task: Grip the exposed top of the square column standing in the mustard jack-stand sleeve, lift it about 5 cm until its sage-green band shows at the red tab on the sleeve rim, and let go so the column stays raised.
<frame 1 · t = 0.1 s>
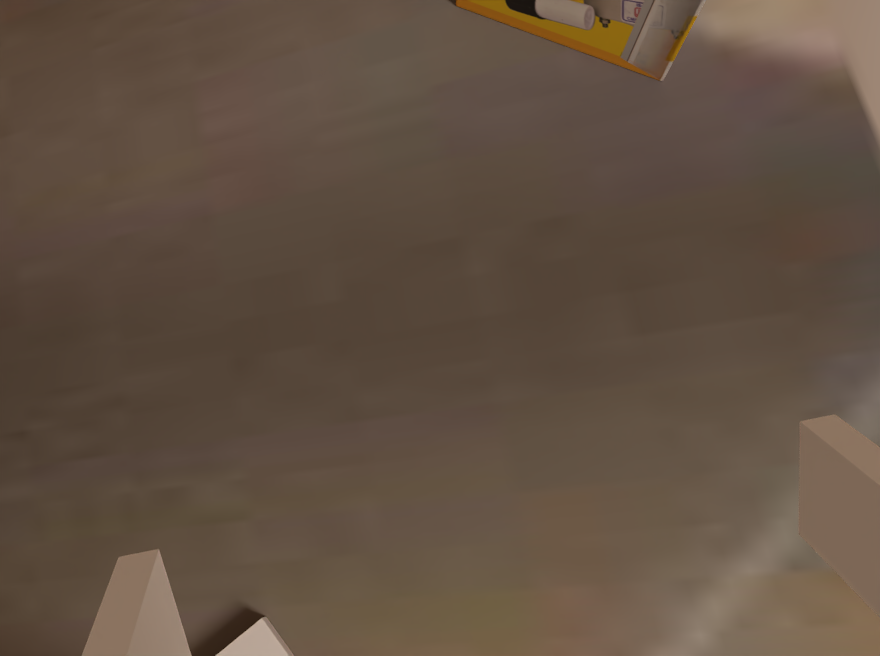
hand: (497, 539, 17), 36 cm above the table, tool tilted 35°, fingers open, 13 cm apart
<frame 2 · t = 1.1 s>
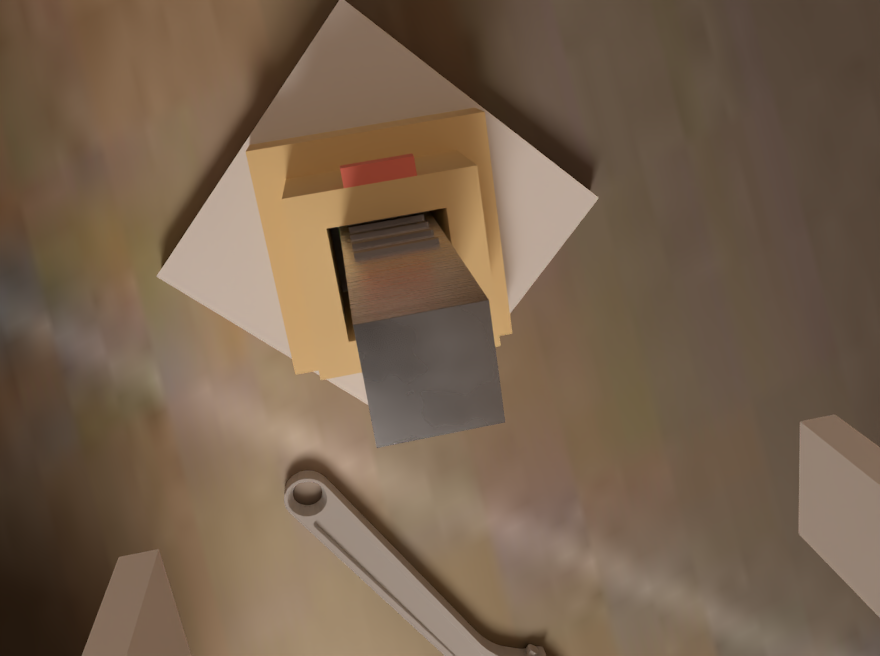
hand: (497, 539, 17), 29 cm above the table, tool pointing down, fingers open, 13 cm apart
adjustable wrench: (439, 598, 52), on the table
column: (401, 289, 33), point 11 cm above the table, slide at 0.0 cm
stand: (380, 229, 44), on the table
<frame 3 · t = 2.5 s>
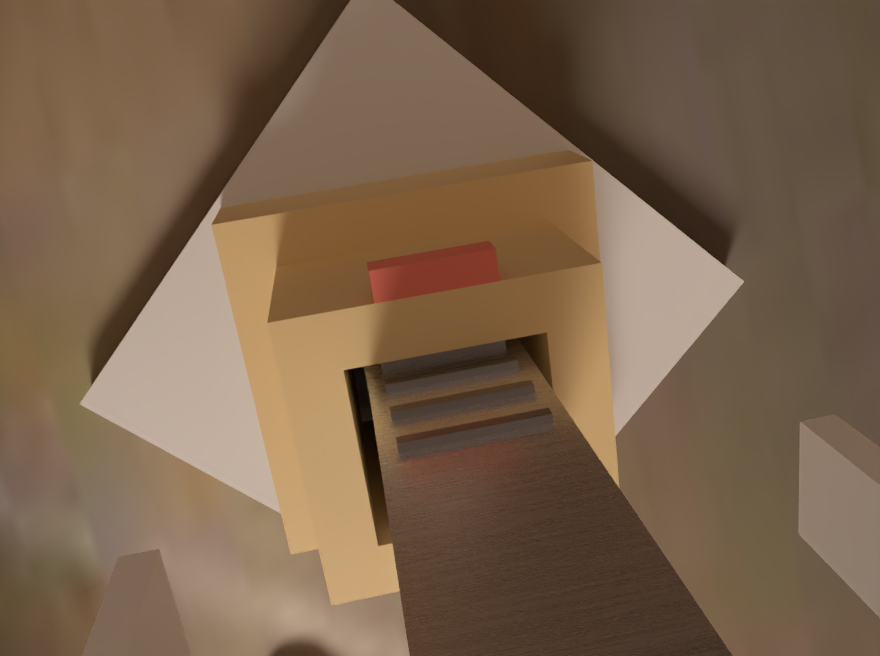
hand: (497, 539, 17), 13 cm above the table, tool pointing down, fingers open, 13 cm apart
column: (476, 486, 19), point 11 cm above the table, slide at 0.0 cm
stand: (418, 326, 29), on the table
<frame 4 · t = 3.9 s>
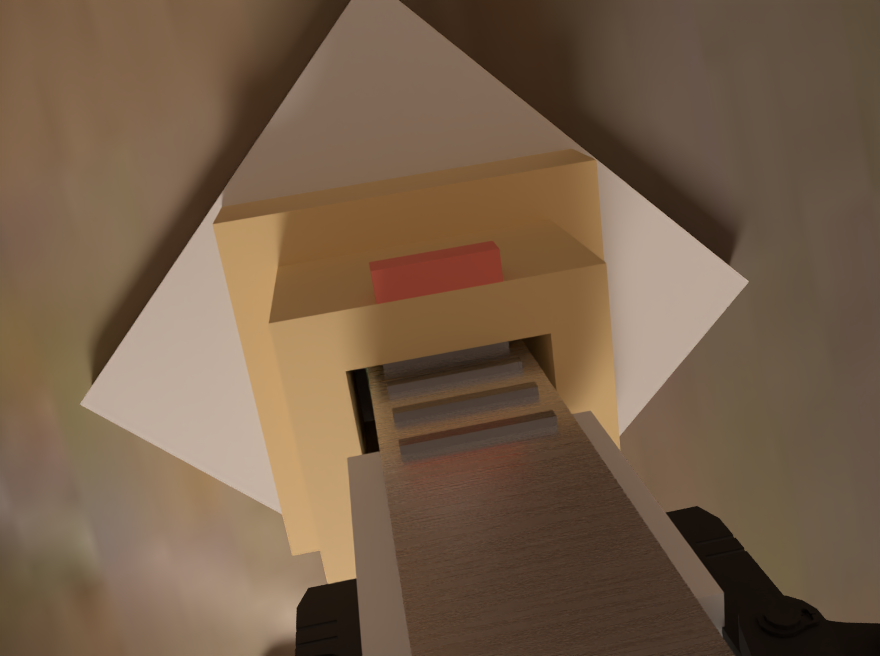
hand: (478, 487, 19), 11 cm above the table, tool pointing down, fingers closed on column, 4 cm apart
column: (479, 488, 19), point 11 cm above the table, slide at 0.0 cm, touching gripper
stand: (420, 326, 29), on the table
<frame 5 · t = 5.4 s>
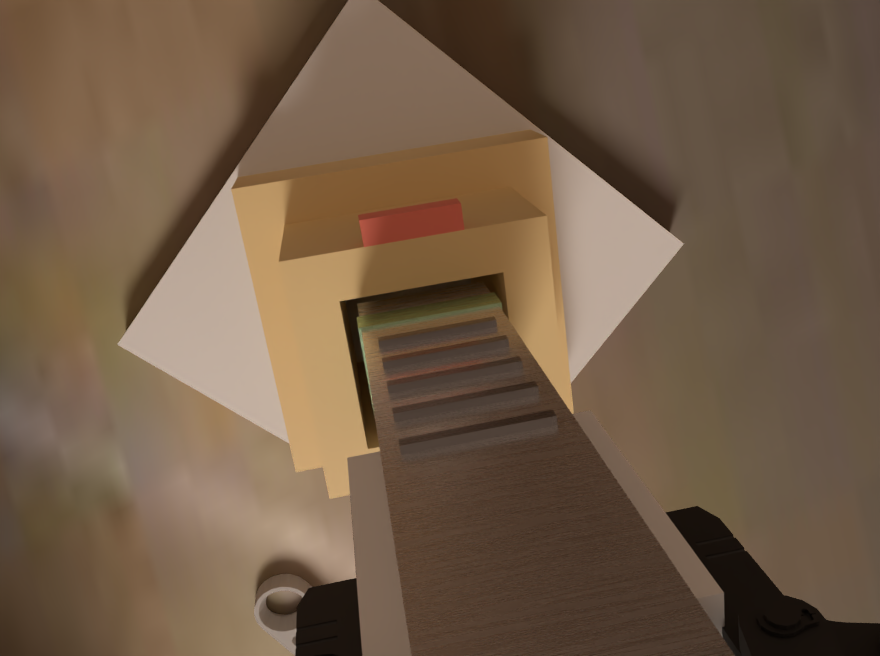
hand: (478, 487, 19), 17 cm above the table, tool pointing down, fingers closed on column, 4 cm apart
column: (479, 488, 19), point 17 cm above the table, slide at 5.5 cm, touching gripper
stand: (404, 282, 34), on the table
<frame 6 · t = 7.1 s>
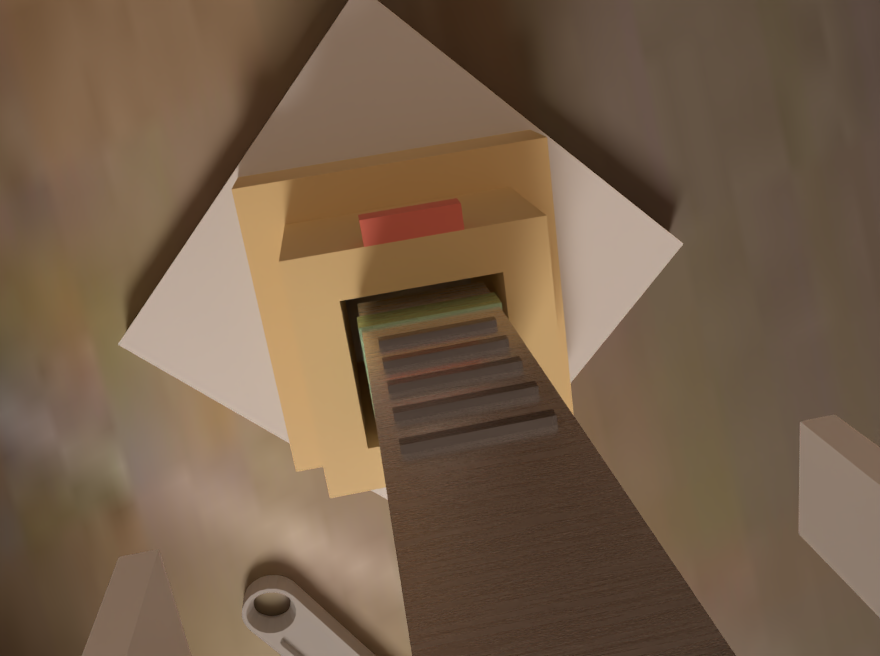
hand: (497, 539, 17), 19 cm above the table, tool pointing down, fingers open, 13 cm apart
column: (479, 487, 19), point 17 cm above the table, slide at 5.5 cm
stand: (404, 282, 34), on the table
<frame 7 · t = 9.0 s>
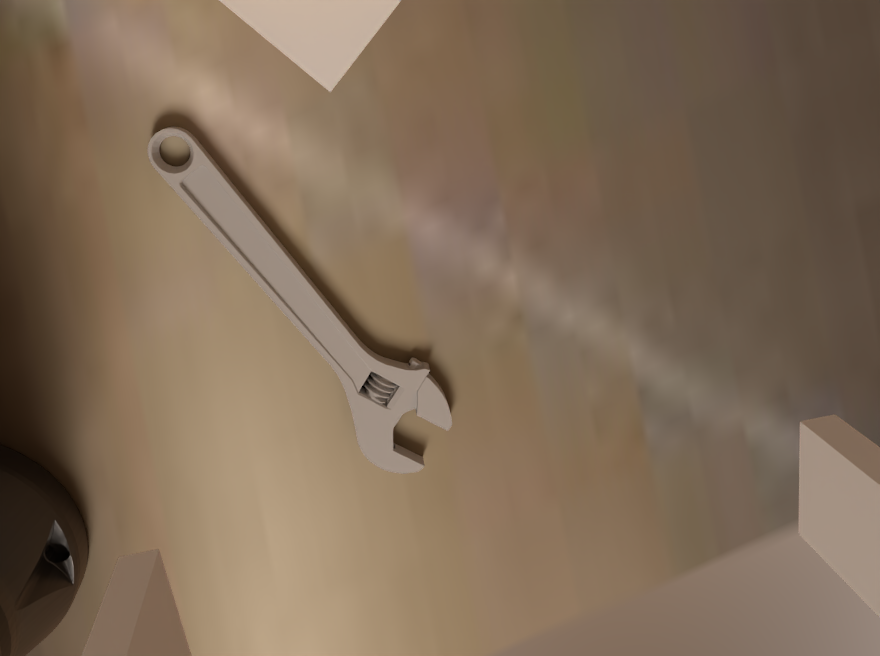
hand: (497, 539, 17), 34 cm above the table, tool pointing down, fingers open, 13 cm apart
adjustable wrench: (318, 298, 50), on the table
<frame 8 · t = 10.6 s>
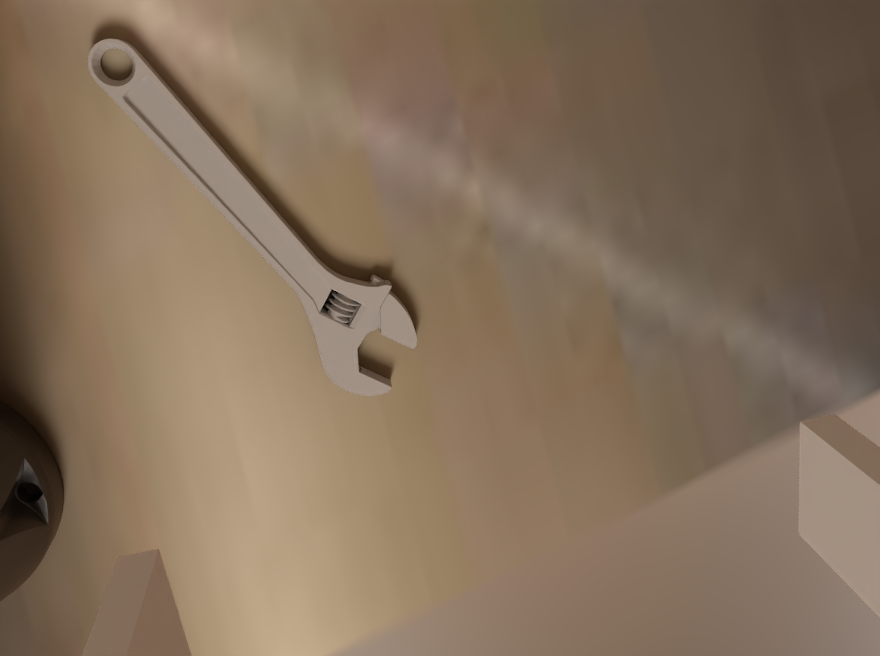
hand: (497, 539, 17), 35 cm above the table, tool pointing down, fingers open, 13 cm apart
adjustable wrench: (274, 216, 49), on the table
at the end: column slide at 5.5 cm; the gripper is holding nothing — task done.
